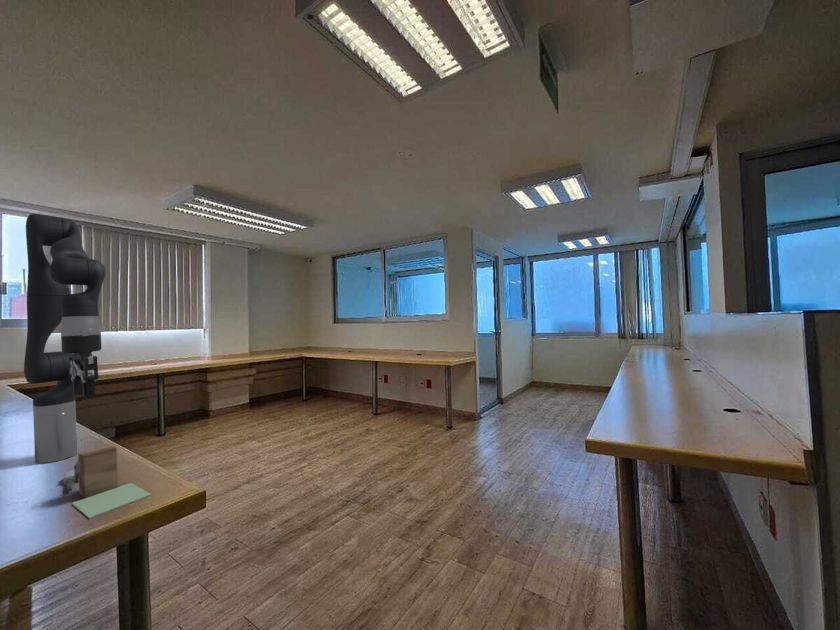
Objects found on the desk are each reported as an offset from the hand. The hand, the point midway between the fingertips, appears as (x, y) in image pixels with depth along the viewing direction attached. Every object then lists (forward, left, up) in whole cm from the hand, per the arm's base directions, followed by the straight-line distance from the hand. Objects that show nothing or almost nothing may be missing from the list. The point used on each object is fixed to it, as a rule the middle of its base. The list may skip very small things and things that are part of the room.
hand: (84, 395), depth 92 cm
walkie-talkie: (-5, +1, -23) cm, 24 cm away
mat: (+18, 0, -23) cm, 29 cm away
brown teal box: (+9, 0, -23) cm, 24 cm away
